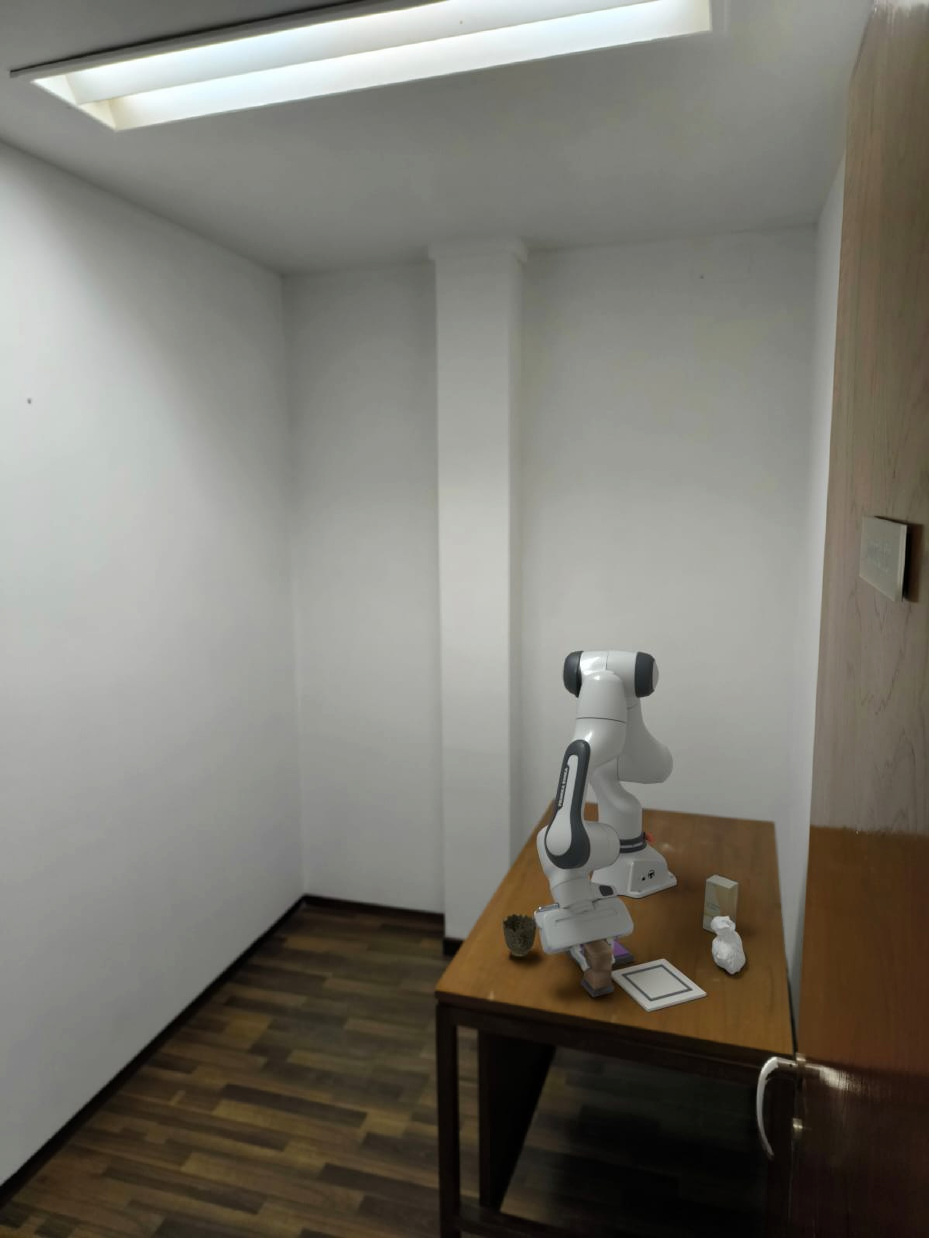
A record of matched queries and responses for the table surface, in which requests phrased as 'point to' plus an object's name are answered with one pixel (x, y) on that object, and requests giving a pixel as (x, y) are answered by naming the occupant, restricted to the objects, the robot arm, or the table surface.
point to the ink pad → (619, 953)
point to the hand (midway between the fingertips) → (599, 966)
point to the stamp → (598, 968)
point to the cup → (519, 934)
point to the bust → (727, 945)
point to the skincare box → (719, 900)
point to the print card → (657, 985)
